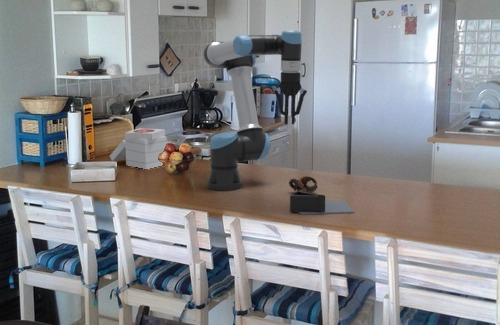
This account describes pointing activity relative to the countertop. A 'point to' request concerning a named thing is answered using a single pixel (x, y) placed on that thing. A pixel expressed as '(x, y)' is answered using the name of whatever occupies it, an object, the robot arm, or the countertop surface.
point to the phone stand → (307, 202)
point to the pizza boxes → (141, 148)
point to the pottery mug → (303, 184)
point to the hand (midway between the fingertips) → (289, 132)
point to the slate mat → (333, 208)
